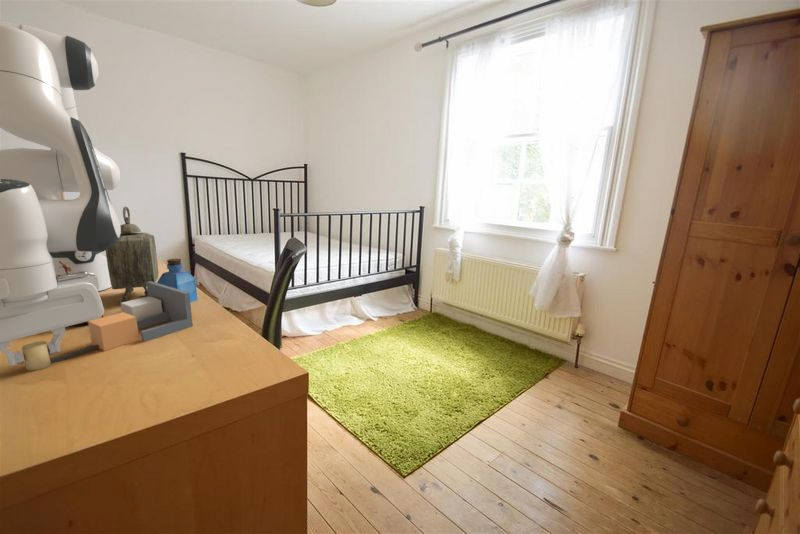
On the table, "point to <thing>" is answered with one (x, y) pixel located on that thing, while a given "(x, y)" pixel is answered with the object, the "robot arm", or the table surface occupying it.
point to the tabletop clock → (132, 259)
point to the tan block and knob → (103, 336)
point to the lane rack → (166, 311)
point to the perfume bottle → (179, 278)
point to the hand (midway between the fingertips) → (35, 358)
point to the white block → (142, 307)
